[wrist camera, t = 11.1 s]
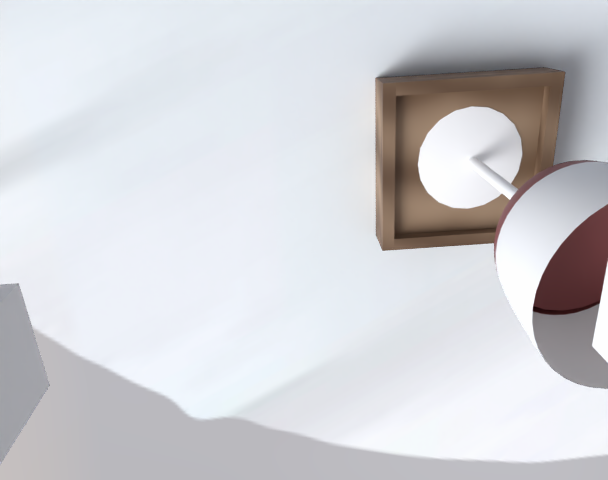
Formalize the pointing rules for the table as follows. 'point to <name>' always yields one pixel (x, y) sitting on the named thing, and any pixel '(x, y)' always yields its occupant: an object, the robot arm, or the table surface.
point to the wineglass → (532, 232)
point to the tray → (423, 117)
